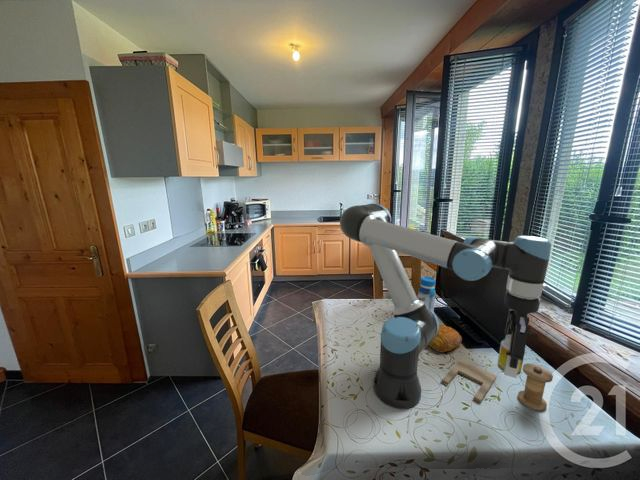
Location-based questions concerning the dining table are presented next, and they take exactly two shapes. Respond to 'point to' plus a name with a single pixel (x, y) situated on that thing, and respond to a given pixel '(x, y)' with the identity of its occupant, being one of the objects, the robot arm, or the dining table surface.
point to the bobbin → (535, 387)
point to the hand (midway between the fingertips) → (508, 368)
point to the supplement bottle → (503, 357)
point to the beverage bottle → (427, 292)
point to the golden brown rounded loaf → (445, 339)
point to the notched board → (472, 377)
